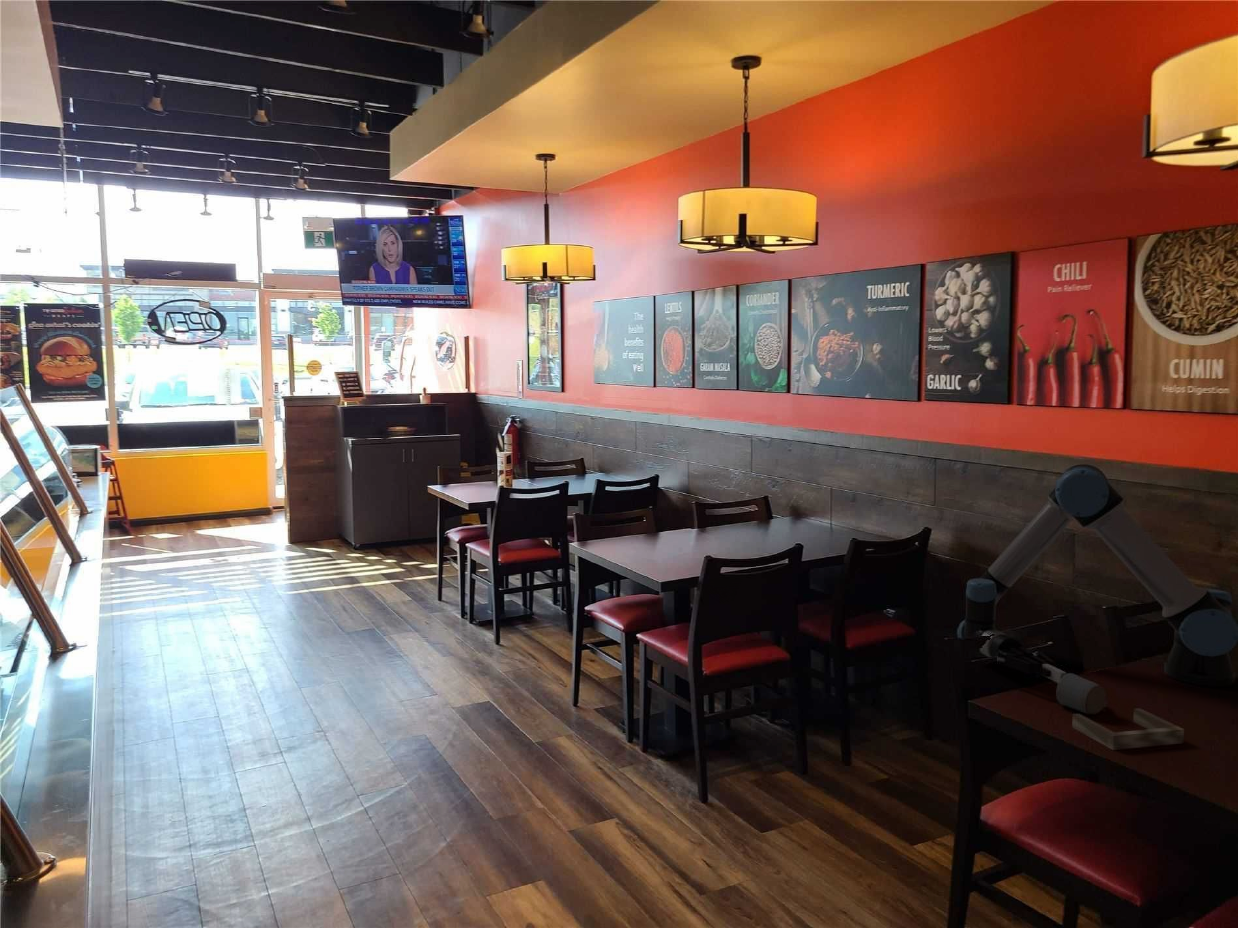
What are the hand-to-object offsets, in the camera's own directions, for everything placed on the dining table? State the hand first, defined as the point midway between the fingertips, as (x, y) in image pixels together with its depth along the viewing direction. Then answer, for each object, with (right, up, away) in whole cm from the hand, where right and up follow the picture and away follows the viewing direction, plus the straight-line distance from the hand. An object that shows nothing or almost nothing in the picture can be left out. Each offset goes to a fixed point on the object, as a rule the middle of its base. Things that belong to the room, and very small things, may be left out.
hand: (1063, 678), depth 205 cm
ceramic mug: (+4, -7, -2) cm, 8 cm away
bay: (+5, -8, -17) cm, 19 cm away
